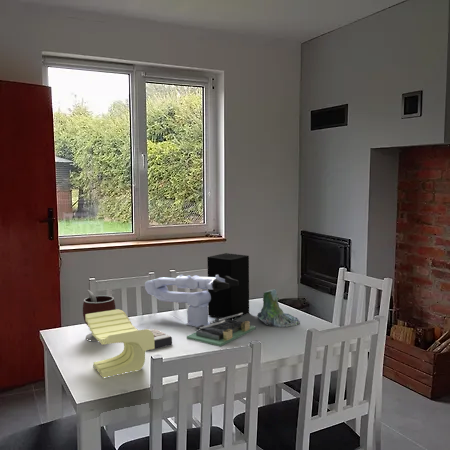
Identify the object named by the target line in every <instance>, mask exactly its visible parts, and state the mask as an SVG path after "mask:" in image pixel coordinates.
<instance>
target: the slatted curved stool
mask: <svg viewBox="0 0 450 450" xmlns="http://www.w3.org/2000/svg"><path fill="white" fill-rule="evenodd" d="M85 318H86V322H88V326H89V327H88V326H87V327H88V328H89V331H90V332H91V333H92V335H93V336H94V337H95V338H96V339H97V340H98V341H99V342H98V343H100V344H101V345H111V344H116V343H117V344H119V343H120V344H123V350H122V352H121V353H119V354H117V355H116V356H113V357H110V358H106V359H101V360H100V361H94V362H93V366H94V367H95V368H94V367H93V368H94V369H95V370H96V369H97V370H96V372H97V371H98V372H99V373H100V374H99V373H98V372H97V373H98V374H99V375H100V376H102V377H103V378H104V377H108V376H113V375H117V374H122V373H125V372H130V371H135V370H139V371H140V370H142V368H143V367H144V364H145V362H146V351H152V350H151V349H153V350H156V349H155V346H154V335H153V333H152V332H151V331H150V330H151V329H149V328H148V329H147V328H146V329H145V328H144V329H137V328H136V327H135V326H134V325H133V323H132V322H131V321H130V318H129V316H128V315H127V314H126V312H124V311H123V310H122V309H117V308H116V310H110V311H103V312H96V313H90V314H85ZM122 375H123V374H122ZM102 377H101V378H102ZM113 377H114V376H113ZM103 378H102V379H103ZM104 379H105V378H104Z"/></svg>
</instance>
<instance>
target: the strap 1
mask: <svg viewBox="0 0 450 450" xmlns="http://www.w3.org/2000/svg"><path fill="white" fill-rule="evenodd" d="M223 322H225V320H223V321H220V322H216V323H213V322H212V323H213V324H210V325H206V326H203V327H200V329H203V328H206V327H210V326H213V325H217V324H220V323H223ZM200 329H199V330H200Z"/></svg>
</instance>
